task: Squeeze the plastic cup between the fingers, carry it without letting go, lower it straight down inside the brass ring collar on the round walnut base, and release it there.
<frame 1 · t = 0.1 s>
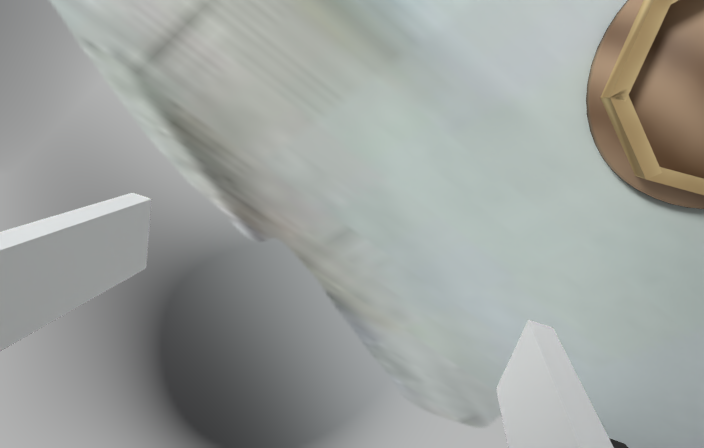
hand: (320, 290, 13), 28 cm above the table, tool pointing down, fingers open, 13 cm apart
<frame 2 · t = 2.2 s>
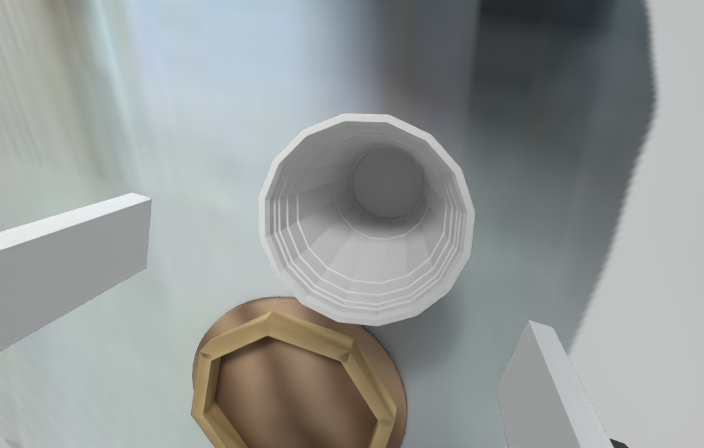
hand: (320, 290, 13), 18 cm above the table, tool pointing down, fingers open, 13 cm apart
plastic cup: (389, 180, 31), on the table
ring base: (297, 395, 38), on the table
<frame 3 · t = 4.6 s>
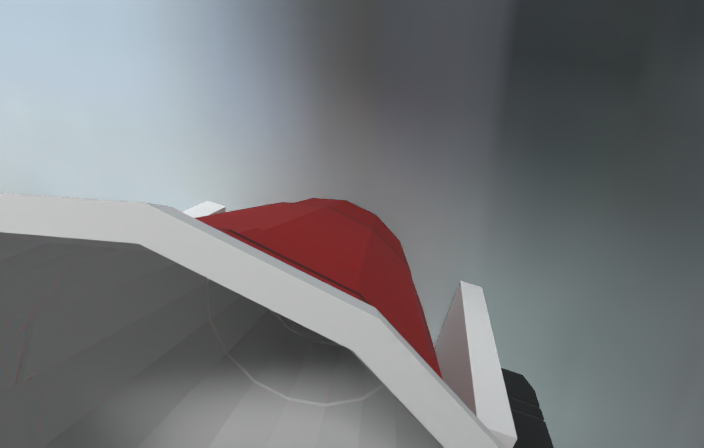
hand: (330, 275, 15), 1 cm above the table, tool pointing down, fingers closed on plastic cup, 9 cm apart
plastic cup: (337, 263, 16), on the table, touching gripper
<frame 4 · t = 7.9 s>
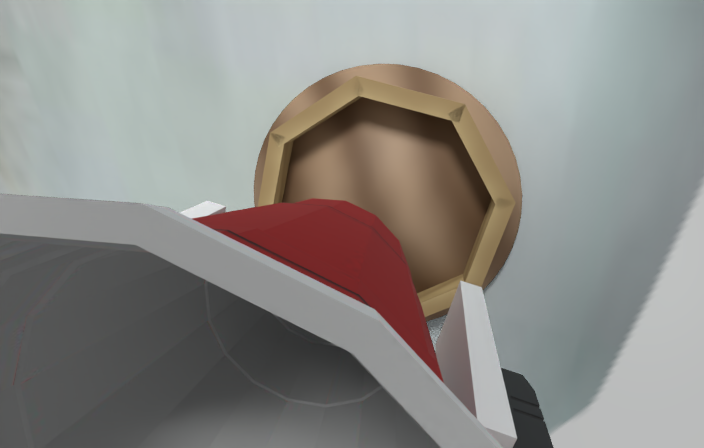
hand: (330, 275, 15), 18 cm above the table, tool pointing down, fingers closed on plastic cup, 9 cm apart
plastic cup: (337, 263, 16), point 17 cm above the table, touching gripper
ring base: (380, 204, 32), on the table
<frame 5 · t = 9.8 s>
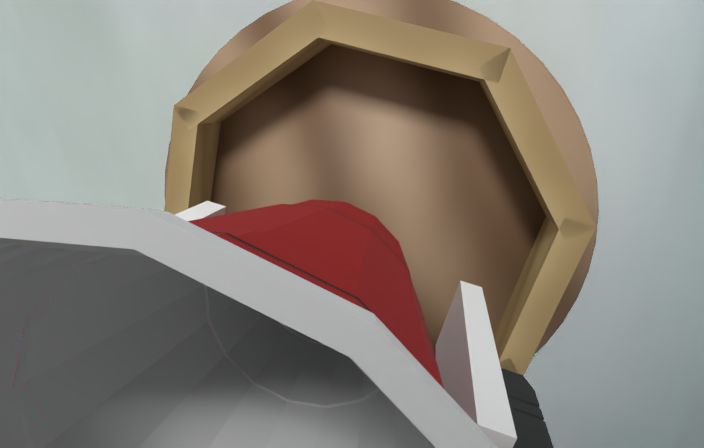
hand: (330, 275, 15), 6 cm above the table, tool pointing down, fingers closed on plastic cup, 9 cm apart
plastic cup: (337, 264, 16), point 5 cm above the table, touching gripper
ring base: (362, 224, 20), on the table
when the fingers open (3 cm above the table, at t = 11.2 s): plastic cup drops 1 cm, resting on ring base.
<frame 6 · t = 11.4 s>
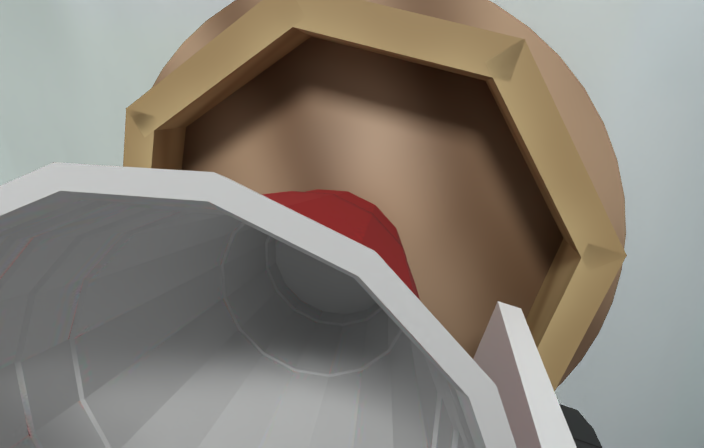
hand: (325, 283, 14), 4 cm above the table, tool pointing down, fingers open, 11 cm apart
plastic cup: (340, 249, 17), point 1 cm above the table, touching ring base
ring base: (349, 244, 18), on the table
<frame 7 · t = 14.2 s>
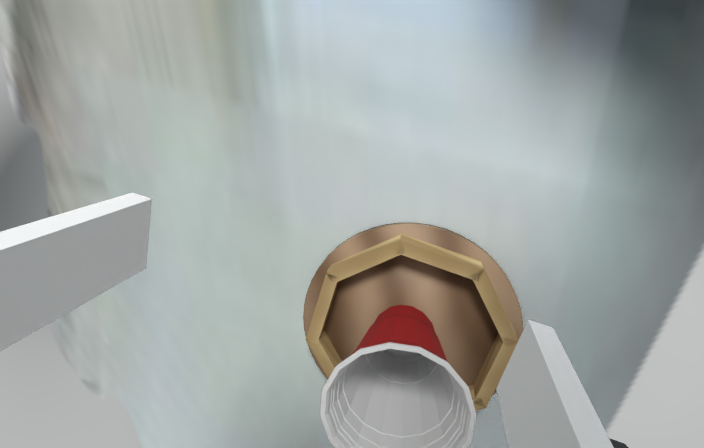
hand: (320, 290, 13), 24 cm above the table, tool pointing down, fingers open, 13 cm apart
plastic cup: (405, 328, 39), point 1 cm above the table, touching ring base
ring base: (408, 324, 40), on the table
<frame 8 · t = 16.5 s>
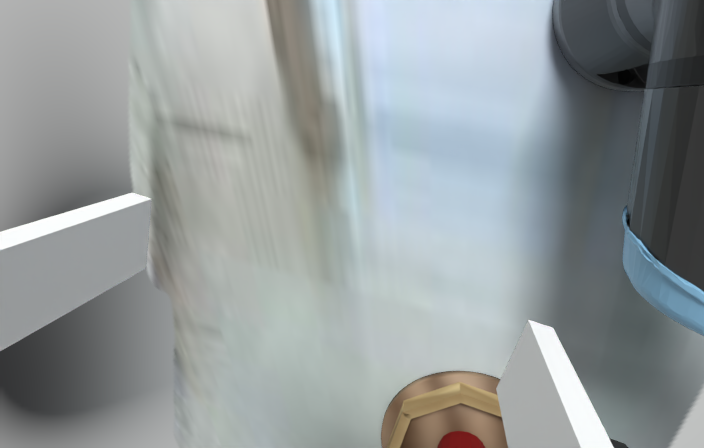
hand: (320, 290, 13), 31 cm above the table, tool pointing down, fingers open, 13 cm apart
plastic cup: (462, 446, 50), point 1 cm above the table, touching ring base
ring base: (464, 441, 51), on the table
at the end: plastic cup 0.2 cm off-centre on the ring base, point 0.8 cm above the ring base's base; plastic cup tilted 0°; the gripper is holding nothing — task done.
